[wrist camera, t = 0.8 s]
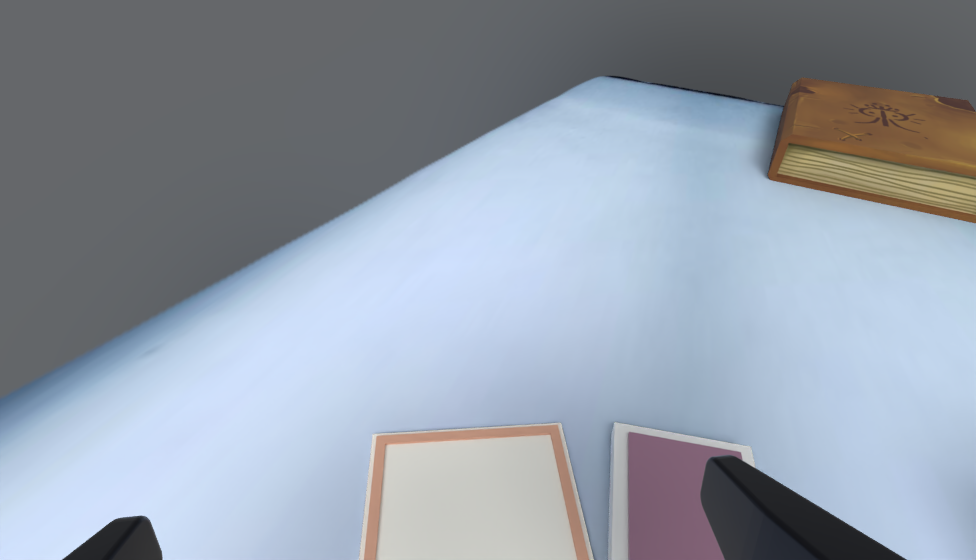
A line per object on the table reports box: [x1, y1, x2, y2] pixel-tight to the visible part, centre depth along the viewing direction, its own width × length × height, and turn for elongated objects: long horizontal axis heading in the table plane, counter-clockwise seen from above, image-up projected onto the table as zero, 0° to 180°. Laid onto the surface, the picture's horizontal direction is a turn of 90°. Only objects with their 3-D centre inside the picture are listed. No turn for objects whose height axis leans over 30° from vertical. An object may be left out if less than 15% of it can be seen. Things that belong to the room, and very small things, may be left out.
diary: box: [768, 78, 976, 223], centre depth 58 cm, size 23×19×6 cm
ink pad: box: [608, 422, 756, 560], centre depth 24 cm, size 9×7×2 cm
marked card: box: [359, 423, 594, 560], centre depth 24 cm, size 10×10×1 cm
